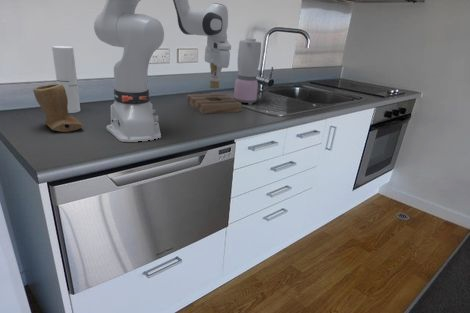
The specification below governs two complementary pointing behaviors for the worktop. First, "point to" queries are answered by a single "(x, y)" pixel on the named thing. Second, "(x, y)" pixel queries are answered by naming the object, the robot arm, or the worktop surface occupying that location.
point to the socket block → (213, 103)
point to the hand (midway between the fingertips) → (215, 74)
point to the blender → (247, 71)
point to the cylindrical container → (67, 75)
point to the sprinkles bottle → (214, 76)
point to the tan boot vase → (56, 107)
